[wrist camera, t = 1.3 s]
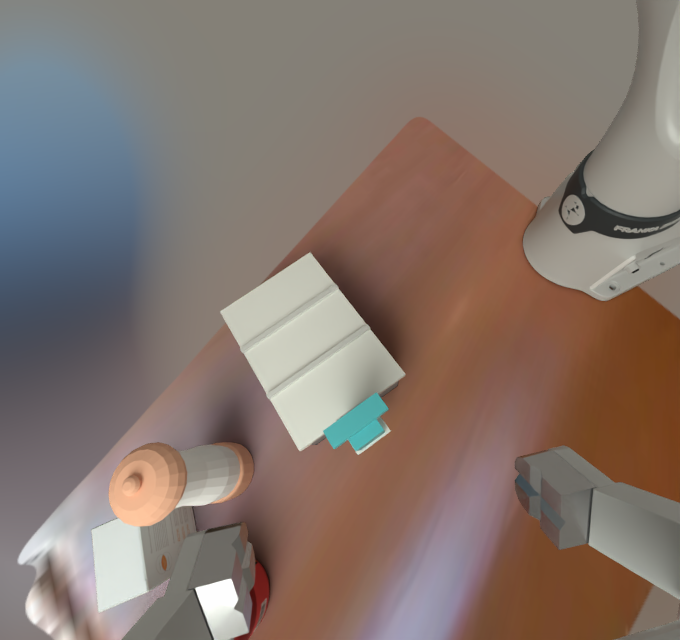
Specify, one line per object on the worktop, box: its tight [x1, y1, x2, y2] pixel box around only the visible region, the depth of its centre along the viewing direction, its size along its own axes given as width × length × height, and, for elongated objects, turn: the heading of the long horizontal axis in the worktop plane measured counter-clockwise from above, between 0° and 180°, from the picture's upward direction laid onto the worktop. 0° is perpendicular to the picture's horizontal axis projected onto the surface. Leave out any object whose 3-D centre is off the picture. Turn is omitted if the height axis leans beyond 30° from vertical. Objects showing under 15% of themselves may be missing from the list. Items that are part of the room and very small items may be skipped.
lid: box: [220, 253, 405, 455], centre depth 37 cm, size 15×25×9 cm, turn 34°
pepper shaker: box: [109, 442, 254, 527], centre depth 37 cm, size 7×7×19 cm
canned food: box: [227, 559, 269, 640], centre depth 35 cm, size 8×8×11 cm
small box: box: [91, 506, 197, 612], centre depth 39 cm, size 8×6×10 cm
